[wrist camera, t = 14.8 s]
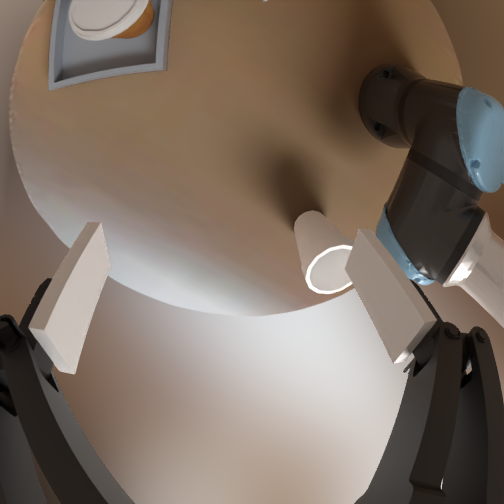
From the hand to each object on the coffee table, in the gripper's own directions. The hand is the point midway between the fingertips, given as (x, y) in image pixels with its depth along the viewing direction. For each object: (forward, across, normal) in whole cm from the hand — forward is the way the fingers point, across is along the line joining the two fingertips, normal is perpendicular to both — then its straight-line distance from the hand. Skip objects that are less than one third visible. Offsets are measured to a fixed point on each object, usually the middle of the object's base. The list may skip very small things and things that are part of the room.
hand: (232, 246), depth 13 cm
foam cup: (+30, -17, +16) cm, 38 cm away
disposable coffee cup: (+29, +14, -18) cm, 37 cm away
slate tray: (+30, +18, -18) cm, 39 cm away
